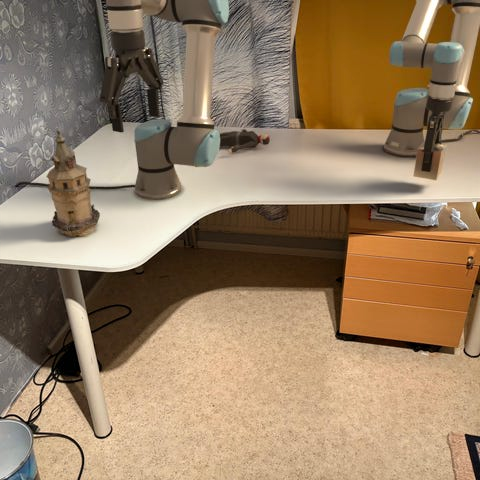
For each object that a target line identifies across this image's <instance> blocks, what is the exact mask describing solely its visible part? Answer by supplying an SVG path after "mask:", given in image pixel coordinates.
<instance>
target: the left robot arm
mask: <svg viewBox="0 0 480 480" xmlns="http://www.w3.org/2000/svg"><path fill="white" fill-rule="evenodd" d="M105 3H106V4H105V5H106V11H107V20H108V21H107V22H108V28H109V29H110V32H109V39H110V45H111V49H112V50H113V51H114V57H112V56H105V58H104V68H105V69H104V73H103V79H102V84H101V89H100V94H99V102H100V103H102V104H106V105H107V109H108V117H109V119H110V121H111V122H110V123H111V128H112V131H113V132H117V133H121V134H122V133H124V132H125V129H124V123H123V114H122V106H121V103H119V101H120V100H119V99H120V97H121V95H122V91H123V88H124V87H125V83H126V80H127V79H128V78H129V77H130V76H131V75H134V74H135V73H137V74H138V75H139V77H140V78H141V79H142V81H143V82H144V83H145V85H146V86H147V87H148V88H147V89H146V97H147V98H146V99H147V107H148V116H149V117H153V118H159V119H152V120H147V121H144V122H142V123H140V124H138V125H137V126H136V127H135V128H134V130H133V132H134V141H133V142H134V144H135V154H136V161H137V175H136V179H135V184H124V185H117V186H116V185H114V186H107V185H105V186H104V185H103V186H101V185H99V186H98V185H97V186H96V185H95V186H94V185H93V186H91V185H89V189H90V190H120V189H130V188H131V189H132V188H134V193H135V195H136V196H137V197H138V198H141V199H143V200H148V201H161V200H168V199H171V198H174V197H176V196H178V195H179V194H180V193H181V192H182V182H181V180H180V177H179V176H178V173H177V171H176V169H175V165H177V166H179V165H180V166H189V167H195V168H199V167H200V168H208V167H210V166H212V165H213V164H214V163H215V161H216V159H217V157H218V154H219V151H220V133H221V132H219V131H218V130H217V129H215V127H216V126H215V125H216V123H214V121H213V120H212V119H211V112H212V111H211V110H212V95H213V80H214V79H213V78H214V64H215V51H216V50H215V48H216V37H217V36H218V35H219V33H220V32H221V31H222V25H225V24H227V23H228V21H229V17H230V5H229V0H105ZM143 14H144V15H147V16H151V17H154V18H156V19H160V20H163V21H167V22H171V23H181V28H182V30H183V31H184V33H185V34H186V41H185V42H186V43H185V58H184V59H185V61H184V77H183V97H182V114H181V117H180V118H178V119H177V120H176V126H172V122H171V120H169V119H165V118H161V119H160V116H161V115H160V105H159V104H160V103H159V102H160V98H159V97H160V96H159V91H161V90H162V89H163V85H164V80H163V77H162V75H161V72H160V70H159V67H158V64H157V62H156V60H155V58H154V52H153V48H150V47H146V38H145V31H144V30H143V28H144V27H145V26H144V15H143ZM49 184H50V183H43V182H30V181H19V182H18V183H16V184H15V185H14V188H18V187H20V186H21V185H22V186H23V185H27V186H40V187H47V188H48V186H49Z"/></svg>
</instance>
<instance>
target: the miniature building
mask: <svg viewBox="0 0 480 480" xmlns="http://www.w3.org/2000/svg"><path fill="white" fill-rule="evenodd" d="M56 134H57V136H56V138H55V140H54V141H55V142H56V147H55V154H54V156H52V157H51V161H52V162H53V165H54V167H53V168H51V169H50V170H49V171H48V173H47V174H46V178H47V179H48V182H49V183H48V184H49V186H48V187H47V190H48V191H49V193H50V194H51V200H52V201H53V205H54V209H55V211H53V217H52V220H51V223H52V225H51V227H54V228H56V229H58V230H59V231H60V234H63V235H64V234H65V235H66V236H69V237H77V236H80V237H83V236H87V235H88V234H90V233H93V232H94V231H95V229H96V226H97V225H98V223H99V220H100V216H101V213H100V212H99V210H98V209H96V208H95V204H92V201H91V200H92V199H91V198H92V197H91V192H92V191H91V189H89V186H90V184H91V178H89V177H88V174H87V167H85V166H84V165H83V166H82V165H80V164H77V160H76V154H75V151H74V150H70V149H69V147H68V145H67V143H66V138H65V137H64V136H63V135H61V130H60V129H56Z"/></svg>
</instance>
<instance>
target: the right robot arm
mask: <svg viewBox="0 0 480 480" xmlns="http://www.w3.org/2000/svg"><path fill="white" fill-rule="evenodd" d="M415 2H416V3H415V6H414V8H413V11H412V14H411V16H410V19H409V20H408V24H407V25H406V29H405V31H404V34H403V36H402V39H401V40H399V41H393V42H392V43H391V46H390V48H389V49H390V50H389V58H388V59H389V60H388V61H389V65H391V66H395V67H400V68H414V69H416V68H417V69H429V70H431V73H430V80H429V83H428V84H427V86H426V87H427V88H425V87H414V88H412V87H411V88H407V89H401V90H400V91H398V92H397V93H396V96H395V99H394V103H393V106H394V107H393V114H392V123H391V129H390V131H389V134H388V136H387V137H386V140H385V142H384V145H383V146H384V147H383V149H384V151H385V152H386V153H388V154H391V155H394V156H399V157H416V156H417V150H418V148H419V146H420V145H421V144H422V143H423V142H425V144H424V149H423V150H422V152H424V157H423V163H422V169H421V171H425V172H430V170H431V165H432V159H433V153H434V152H433V149H434V145H435V144H441V145H443V144H442V143H443V142H444V143H446V142H455V141H460V140H462V139H463V138H464V135H467V134H470V133H475V132H476V133H477V134H480V130H478V129H470V130H467V131H464V132H465V133H464V132H462V133H463V136H462V133H461V134H460V137H461V136H462V137H461V138H460V137H456V138H457V139H456V138H445V139H442V134H443V130H444V129H446V130H456V131H458V130H462V129H463V128H464V127H465V124H466V122H467V119H468V117H469V114H470V111H471V108H472V104H473V101H474V99H473V97H471V92H470V91H469V89H468V83H469V78H470V73H471V69H472V63H473V59H474V54H475V49H476V46H477V39H478V35H479V30H480V0H415ZM443 5H452V7H451V11H452V13H454V15H455V16H454V20H453V21H454V22H453V25H452V31H451V36H450V41H443V42H439V43H432V42H431V43H429V42H427V41H428V38H429V35H430V32H431V29H432V28H433V24H434V21H435V19H436V16H437V13H438V10H439V9H440V8H441V7H442V6H443ZM424 127H427V128H426V132H425V133H426V134H425V137H424ZM472 131H474V132H472Z"/></svg>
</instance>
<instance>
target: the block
mask: <svg viewBox="0 0 480 480" xmlns="http://www.w3.org/2000/svg"><path fill="white" fill-rule="evenodd" d="M424 144H425V141H424V142H423V143H422V144H421V145H420V146H419V148H418V150H417V156H415V163H414V170H413V175H412V176H413V177H416V178H420V179H426V180H431V181H438V178H439V177H440V175H441V174H442V170H443V165H444V159H445V154H446V150H447V149H446V148H447V144H435V145H434V149H433V152H434V153H433V159H432V165H431V170H430V172H425V171H421V169H422V163H423V157H424V152H422V150H423V149H424Z"/></svg>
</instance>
